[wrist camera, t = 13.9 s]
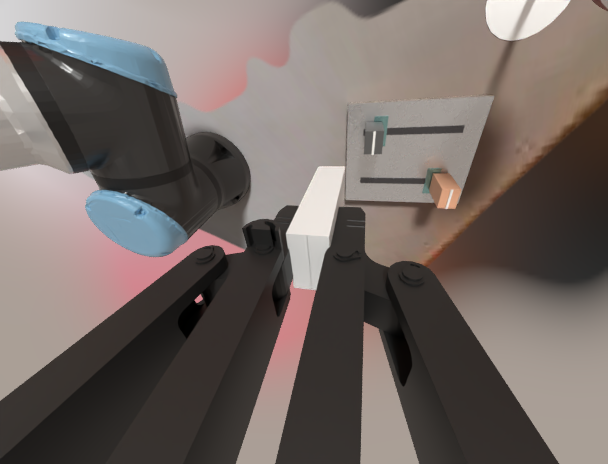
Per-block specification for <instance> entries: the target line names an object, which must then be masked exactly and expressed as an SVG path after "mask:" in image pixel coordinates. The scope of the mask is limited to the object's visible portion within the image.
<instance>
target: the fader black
mask: <svg viewBox="0 0 608 464" xmlns="http://www.w3.org/2000/svg"><path fill="white" fill-rule="evenodd" d="M383 139H384V127H383V123H382V122H366V126H365V141H364V154H372V155H374V154H382V148H383Z"/></svg>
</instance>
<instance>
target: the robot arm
mask: <svg viewBox="0 0 608 464" xmlns="http://www.w3.org/2000/svg"><path fill="white" fill-rule="evenodd" d="M15 29H16V32H15V35H16V37H17V38H18V39H19V40H21V41H22V42H1V41H0V171H2V170H7V169H14V168H20V167H25V166H31V165H37V164H42V165H48V166H51V167H53V168H56V169H58V170H61V171H63V172H66V173H68V174H74V173H79V172H84V171H89V170H90V172H91V173H92V175H93V177H94V179H95V181H96V183H97V185H98V186H99V189H100V190H97V191H95V192H93V193H92V194H91V196H89V197H88V198H87V200H86V206H85V208H86V211H87V214H88V216H89V218H90V219H91V220H92V222H93V223H94V224H95V225H96V227H97V228H98V229H99V230H100V231H101V232H102V233H104V234H105V235H106V236H107V237H108V238H110V239H111V240H112V241H114V242H115V243H117V244H119V245H121V246H122V247H124V248H126V249H128V250H130V251H132V252H134V253H137V254H140V255H144V256H149V257H162V256H166V255H168V254H170V253H172V252H173V251H174V250H176V249H177V248H178V247H179V246H180V245H182V244H184V243H185V242H186V241H187V240H188V239H189V238H190V237H191V236H192V235H193V234H194V233H195V232H196V231H197V230H198V229H199V228H200V227H201V226H202V225H203V224H204V223H205V222H206V221H207V220H208V219H209V218H210V217H211V216H212V215H213V214H214V212H216V211H217V210H219V209H222V208H225V207H228V206H231V205H233V204H235V203H237V202H238V201H239V200H240V199H241V198H242V197H243V196H244V195H245V194H246V192H247V191H248V188H249V185H250V172H249V167H248V165H247V162H246V160H245V158H244V156H243V155H242V153H241V152H240V151H239V149H238V148H237V147H236V146H235V145H234V144H233V143H232V142H230V141H229V140H228V139H226V138H224V137H223V136H220V135H218V134H215V133H211V132H201V133H197V134H194V135H192V136H190V137H188V138H186V137H185V133H184V129H183V125H182V121H181V116H180V112H179V108H178V104H177V100H176V98H177V94H176V93H175V92H174V89H173V86H172V83H171V80H170V76H169V73H168V70H167V66H166V64H165V62H164V60H163V59H162V58H161V56H160V55H159V54H158V53H157V52H155V51H154V50H152V49H151V48H148V47H146V46H143V45H140V44H136V43H132V42H129V41H124V40H121V39H116V38H112V37H107V36H102V35H98V34H93V33H87V32H83V31H77V30H72V29H66V28H57V27H53V26H45V25H42V24H37V23H30V22H17V24H16V25H15ZM344 196H345V166H318V168H317V170H316V172H315V175H314V177H313V179H312V181H311V183H310V185H309V187H308V189H307V191H306V193H305V195H304V197H303V199H302V201H301V203H300V205H299V206H288V205H287V206H285V207H284V208H283V209H281V210H280V211H279V212H278V214H277V216H276V218H275V219H274V221H273V220H269V219H260V220H256V221H252V222H250V223H248V224H246V225H245V226H244V227H243V228H242V229H243V233H244V236H245V240H246V244H247V248H246V250H245V251H244V252H242V253H236V254H229V255H225V253H224V250H223V249H222V248H221V247H219V246H213V245H211V246H205V247H202V248H200V249H197V250H196V251H194V252H193V253H191V254H190V255H189V256H187V257H186V258H185V259H184V260H182V261H181V262H180V263H178V264H177V265H176V266H174V267H173V268H172V269H171V270H169V271H168V272H167V273H165V274H164V275H163V276H161V277H160V278H159V279H158V280H156V281H155V282H154V283H152V284H151V285H150V286H149V287H147V288H146V289H145V290H143V291H142V292H141V293H139V294H138V295H137V296H136V297H134V298H133V299H132V300H130V301H129V302H128V303H126V304H125V305H124V306H123V307H121V308H120V309H119V310H117V311H116V312H115V313H114V314H112V315H111V316H110V317H108V318H107V319H106V320H104V321H103V322H102V323H101V324H99V325H98V326H97V327H95V328H94V329H93V330H92V331H90V332H89V333H88V334H86V335H85V336H84V337H82V338H81V339H80V340H79V341H77V342H76V343H75V344H73V345H72V346H71V347H69V348H68V349H67V350H66V351H64V352H63V353H62V354H60V355H59V356H58V357H57V358H55V359H54V360H53V361H51V362H50V363H49V364H48V365H46V366H45V367H44V368H42V369H41V370H40V371H38V372H37V373H36V374H35V375H33V376H32V377H31V378H29V379H28V380H27V381H25V382H24V383H23V384H22V385H20V386H19V387H18V388H16V389H15V390H14V391H13V392H11V393H10V394H9V395H7V396H6V397H5V398H4V399H2V400H1V401H0V464H236V461H237V458H238V455H239V452H240V449H241V446H242V443H243V440H244V437H245V434H246V431H247V428H248V425H249V422H250V419H251V415H252V413H253V409H254V406H255V404H256V400H257V397H258V394H259V391H260V388H261V385H262V382H263V379H264V376H265V373H266V370H267V367H268V364H269V361H270V358H271V355H272V352H273V349H274V346H275V343H276V340H277V337H278V334H279V331H280V328H281V325H282V322H283V319H284V316H285V312H286V310H287V306H288V303H289V300H290V295H291V293H290V285H291V282H292V279H293V284H294V288H303V289H310V290H316V293H315V297H314V302H313V306H312V310H311V314H310V319H309V323H308V327H307V332H306V336H305V340H304V344H303V348H302V353H301V357H300V361H299V366H298V370H297V374H296V378H295V382H294V387H293V391H292V395H291V400H290V404H289V408H288V412H287V416H286V421H285V425H284V429H283V433H282V437H281V442H280V446H279V450H278V454H277V459H276V463H275V464H360V452H361V410H362V409H361V407H362V368H363V367H362V365H363V326H364V322H366V323H368V324H370V325H372V326H374V327H377V328H379V332H380V335H381V339H382V342H383V345H384V349H385V352H386V355H387V359H388V362H389V365H390V368H391V371H392V375H393V378H394V382H395V385H396V388H397V392H398V395H399V398H400V401H401V405H402V408H403V411H404V414H405V418H406V421H407V424H408V428H409V431H410V434H411V437H412V441H413V444H414V447H415V450H416V454H417V458H418V461H419V464H559V463H558V461H557V460H556V458H555V457H554V455H553V454H552V452H551V451H550V449H549V448H548V446H547V445H546V443H545V442H544V440H543V439H542V437H541V436H540V434H539V432H538V431H537V430H536V428H535V426H534V425H533V423H532V422H531V420H530V419H529V417H528V416H527V414H526V413H525V411H524V410H523V408H522V407H521V405H520V404H519V402H518V401H517V399H516V397H515V396H514V394H513V393H512V391H511V390H510V388H509V387H508V385H507V384H506V382H505V381H504V379H503V378H502V376H501V375H500V373H499V372H498V370H497V369H496V367H495V365H494V364H493V362H492V361H491V360H490V358H489V357H488V355H487V353H486V352H485V350H484V349H483V347H482V346H481V344H480V343H479V341H478V340H477V338H476V337H475V335H474V334H473V332H472V330H471V329H470V327H469V326H468V325H467V323H466V321H465V320H464V318H463V317H462V315H461V314H460V312H459V311H458V309H457V308H456V306H455V305H454V303H453V302H452V300H451V299H450V297H449V296H448V294H447V292H446V291H445V289H444V288H443V286H442V285H441V283H440V282H439V280H438V279H437V277H436V276H435V274H434V273H433V272H432V271H431V270H430V269H429V268H427V267H425V266H423V265H422V264H419V263H415V262H411V261H401V262H397V263H395V264H393V265H392V266H390V268H389V267H386V266H383V265H380V264H378V263H376V262H374V261H372V260H371V259H370V258H369V257H368V256H367V255H366V253H365V213H364V211H363V210H362V209H361V208H358V207H344ZM200 294H201V296H202V297H203V300H202V301H200V302H199V303H196V302H195V301H194V300H195V299H196V298H197V297H198V296H199V295H200Z"/></svg>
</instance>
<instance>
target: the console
mask: <svg viewBox="0 0 608 464" xmlns="http://www.w3.org/2000/svg"><path fill="white" fill-rule="evenodd" d="M493 99H494V96H493V95H489V94H484V95H468V96H451V97H434V98H418V99H401V100H385V101H368V102H352V103H349V104H348V125H347V163H346V200H362V201H393V202H424V203H435V202H434V200H433V198H432V196H431V194H430V192H429V188H430V184H431V180H432V176H433V173H450V175H451V176H452V177H453V179H454V180H455V181H456V183H457V184H458V185H459V187H460V188H461V193H462V191H463V188H464V185H465V182H466V179H467V176H468V173H469V170H470V167H471V164H472V161H473V158H474V155H475V152H476V149H477V146H478V143H479V140H480V137H481V134H482V131H483V128H484V125H485V123H486V120H487V117H488V114H489V111H490V108H491V105H492V102H493ZM366 122H382V123H383V127H384V139H383V148H382V154H374V155H372V154H364V141H365V126H366ZM461 193H460V196H461ZM460 196H459V199H460ZM459 199H458V202H459ZM458 202H457V204H458Z"/></svg>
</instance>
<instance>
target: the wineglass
mask: <svg viewBox="0 0 608 464" xmlns="http://www.w3.org/2000/svg"><path fill="white" fill-rule="evenodd" d="M592 1H593V2H594V3H595V4H596V5H598V6H599V7H601V8H602V9H604V10H606V11H608V0H592ZM569 2H570V0H487V4H486V22H487V24H488V26H489V29H490V31H491V32H492V33H493V34H494V35H495V36H497V37H498V38H499V39H503V40H508V41H514V40H520V39H525V38H527V37H529V36H531V35H534V34H536V33H538V32H539V31H541V30H542V29H543V28H545V27H546V26H547V25H549V24H550V23H551V22H553V21H554V20H555V19H556V18H557V16H558V15H559V14H560V13H561V12H562V11H563V10H564V9H565V8H566V6H567V5H568V3H569Z"/></svg>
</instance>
